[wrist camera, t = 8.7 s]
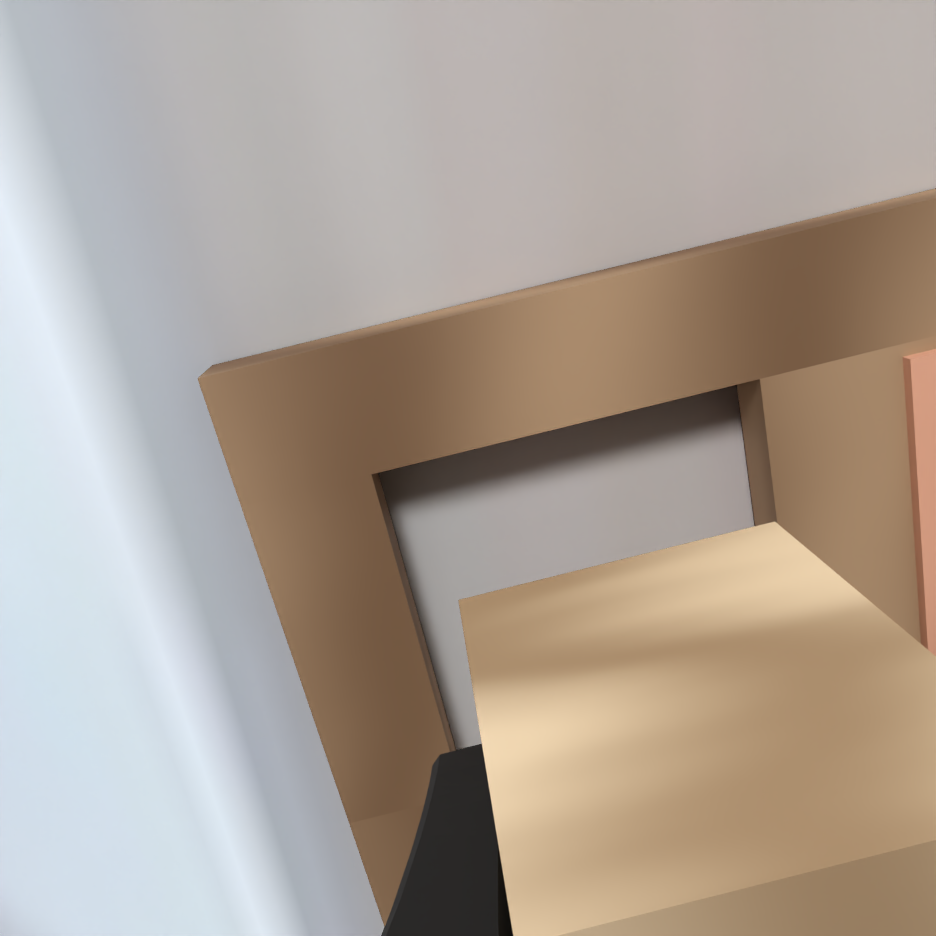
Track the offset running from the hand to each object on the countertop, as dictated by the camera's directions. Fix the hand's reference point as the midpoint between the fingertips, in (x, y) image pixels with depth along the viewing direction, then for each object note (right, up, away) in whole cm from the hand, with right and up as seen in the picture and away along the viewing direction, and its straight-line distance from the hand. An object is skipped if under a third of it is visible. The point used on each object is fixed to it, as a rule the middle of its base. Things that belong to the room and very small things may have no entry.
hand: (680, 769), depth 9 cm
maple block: (0, 0, +1) cm, 2 cm away
